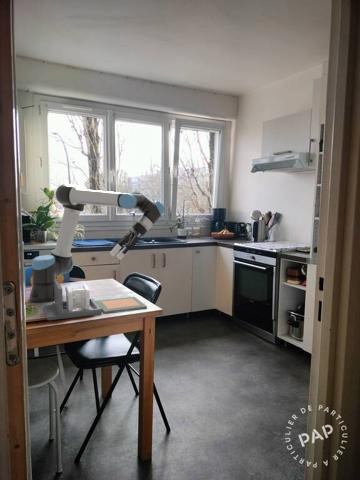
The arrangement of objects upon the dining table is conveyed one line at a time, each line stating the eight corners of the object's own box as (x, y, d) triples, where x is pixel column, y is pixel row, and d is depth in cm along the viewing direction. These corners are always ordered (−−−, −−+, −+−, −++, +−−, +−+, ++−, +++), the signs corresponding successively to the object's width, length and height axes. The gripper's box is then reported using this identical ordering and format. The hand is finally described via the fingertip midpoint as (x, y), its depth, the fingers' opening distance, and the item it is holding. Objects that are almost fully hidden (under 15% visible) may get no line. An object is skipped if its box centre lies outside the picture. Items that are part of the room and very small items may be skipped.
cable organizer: (90, 314, 166) (90, 290, 165) (67, 316, 162) (66, 292, 161) (86, 305, 180) (86, 283, 178) (65, 307, 176) (65, 284, 175)
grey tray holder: (43, 307, 173) (43, 280, 172) (92, 302, 184) (92, 277, 183) (47, 320, 155) (47, 290, 154) (101, 313, 166) (101, 285, 164)
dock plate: (95, 302, 184) (95, 300, 184) (134, 298, 194) (134, 296, 194) (104, 313, 167) (104, 311, 167) (146, 308, 176) (146, 306, 176)
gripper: (155, 232, 170) (127, 264, 165) (139, 229, 192) (113, 258, 187) (145, 222, 167) (115, 254, 162) (130, 220, 189) (103, 248, 184)
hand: (114, 256), depth 175 cm, fingers open, 13 cm apart
